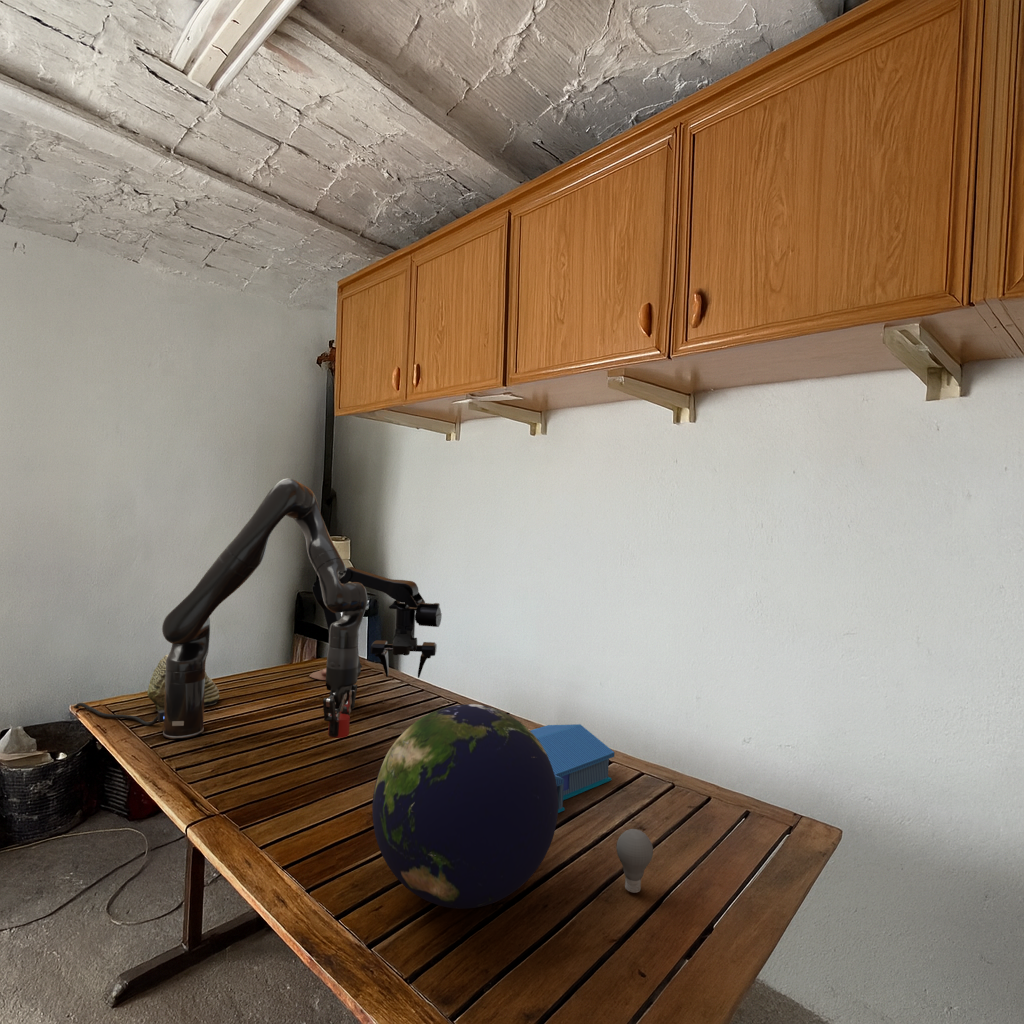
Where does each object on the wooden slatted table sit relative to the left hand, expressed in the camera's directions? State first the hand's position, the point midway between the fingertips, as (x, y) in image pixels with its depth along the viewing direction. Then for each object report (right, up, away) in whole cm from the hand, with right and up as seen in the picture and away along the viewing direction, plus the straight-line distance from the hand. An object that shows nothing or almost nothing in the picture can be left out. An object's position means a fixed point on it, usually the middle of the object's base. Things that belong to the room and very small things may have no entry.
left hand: (338, 732), depth 156 cm
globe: (+35, -8, -52) cm, 63 cm away
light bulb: (+63, -9, -50) cm, 81 cm away
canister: (0, 0, 0) cm, 0 cm away
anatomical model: (-21, -3, +66) cm, 69 cm away
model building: (+45, -8, -14) cm, 48 cm away
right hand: (+10, +6, +31) cm, 33 cm away
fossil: (-53, -3, +29) cm, 61 cm away
